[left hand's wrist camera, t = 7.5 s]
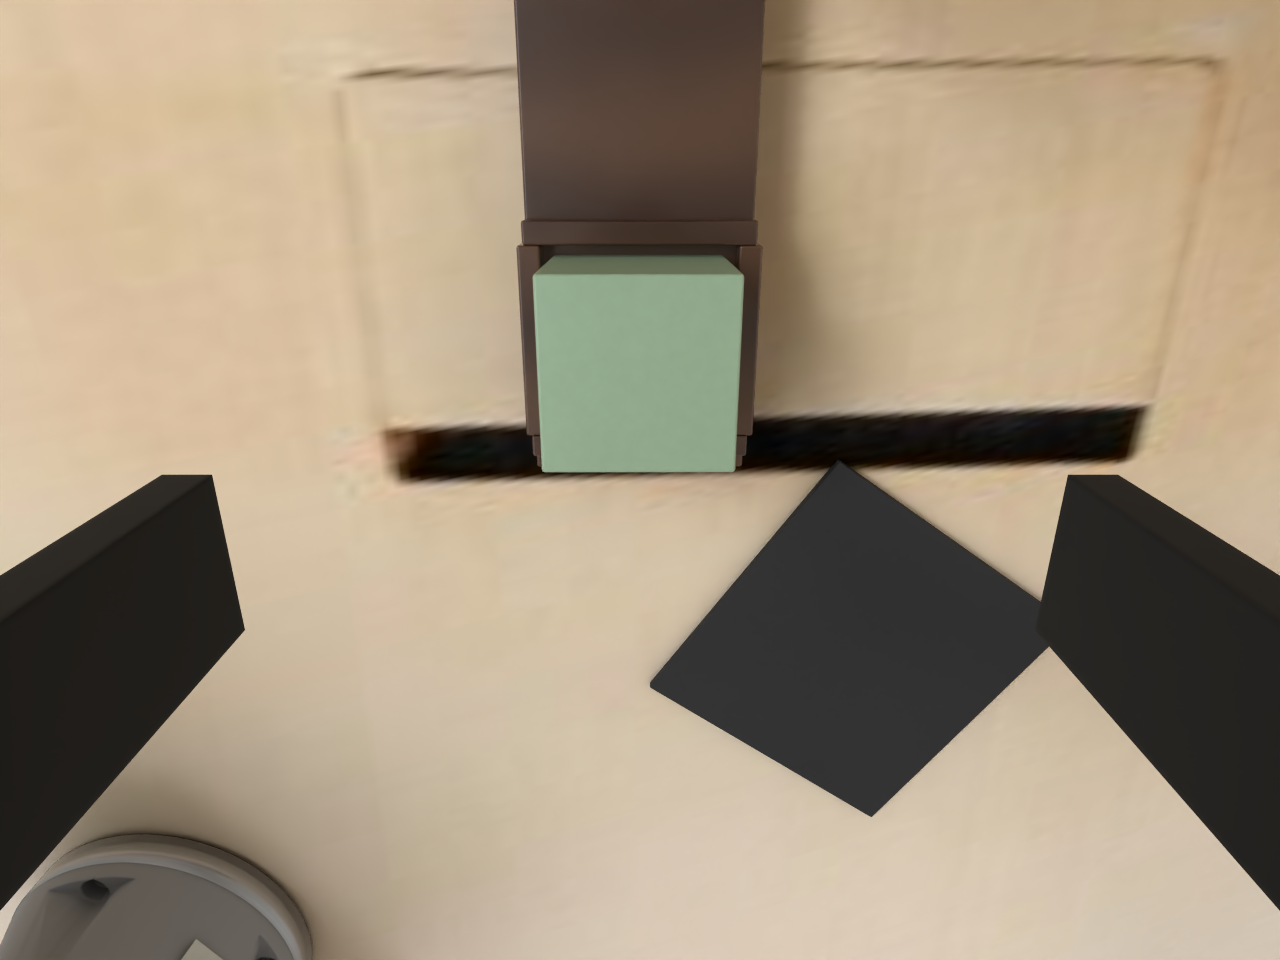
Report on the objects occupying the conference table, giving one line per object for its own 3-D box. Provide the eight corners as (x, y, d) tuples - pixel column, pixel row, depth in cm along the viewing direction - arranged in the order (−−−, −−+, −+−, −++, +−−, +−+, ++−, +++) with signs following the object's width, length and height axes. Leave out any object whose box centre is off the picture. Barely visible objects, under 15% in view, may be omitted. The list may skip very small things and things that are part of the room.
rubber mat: (869, 811, 41) (871, 817, 40) (649, 682, 38) (649, 687, 37) (1067, 620, 36) (1071, 625, 36) (837, 458, 34) (839, 461, 33)
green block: (717, 417, 30) (735, 472, 24) (560, 417, 30) (541, 473, 24) (723, 254, 28) (744, 273, 22) (553, 254, 28) (531, 273, 22)
